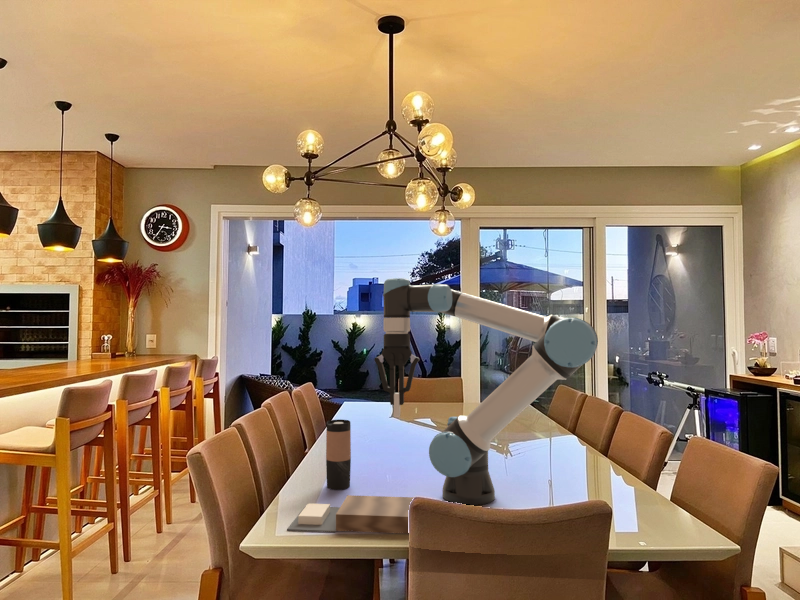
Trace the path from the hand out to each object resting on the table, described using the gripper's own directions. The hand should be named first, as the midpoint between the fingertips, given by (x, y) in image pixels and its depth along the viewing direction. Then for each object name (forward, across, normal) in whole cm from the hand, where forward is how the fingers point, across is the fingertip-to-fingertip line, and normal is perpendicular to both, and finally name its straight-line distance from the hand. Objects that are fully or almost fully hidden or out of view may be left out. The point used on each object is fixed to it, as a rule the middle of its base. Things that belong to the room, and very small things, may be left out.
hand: (397, 416), depth 146 cm
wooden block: (+24, +3, +13) cm, 28 cm away
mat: (+24, +19, +13) cm, 34 cm away
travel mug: (+25, +20, -14) cm, 35 cm away
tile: (+22, +20, +13) cm, 33 cm away
